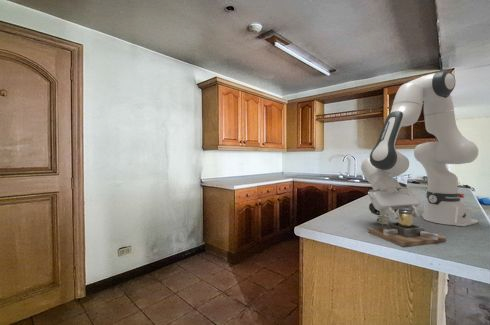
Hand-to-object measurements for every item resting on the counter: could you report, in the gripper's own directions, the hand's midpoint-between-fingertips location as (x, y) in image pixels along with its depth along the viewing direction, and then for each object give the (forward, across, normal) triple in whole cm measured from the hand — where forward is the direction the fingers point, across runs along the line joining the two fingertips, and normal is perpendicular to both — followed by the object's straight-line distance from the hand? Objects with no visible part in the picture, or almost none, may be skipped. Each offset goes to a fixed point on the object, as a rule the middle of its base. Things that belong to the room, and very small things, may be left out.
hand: (406, 217), depth 90 cm
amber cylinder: (+4, 0, +5) cm, 6 cm away
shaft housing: (+5, 0, +6) cm, 8 cm away
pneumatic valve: (-7, +6, +18) cm, 20 cm away
